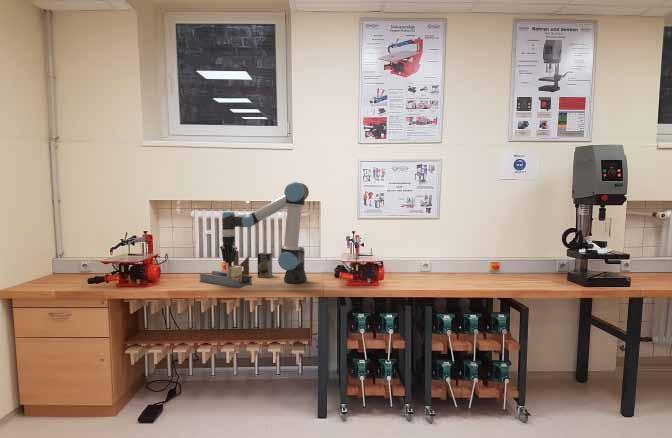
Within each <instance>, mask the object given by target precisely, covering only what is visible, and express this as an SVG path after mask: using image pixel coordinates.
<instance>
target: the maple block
mask: <svg viewBox="0 0 672 438" xmlns="http://www.w3.org/2000/svg"><path fill="white" fill-rule="evenodd" d="M242 271H243V267H242V266H236V265H235V266H233V265H232V266H230V267H227V277H230V278H233V277H234V278H240V282H242Z"/></svg>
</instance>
